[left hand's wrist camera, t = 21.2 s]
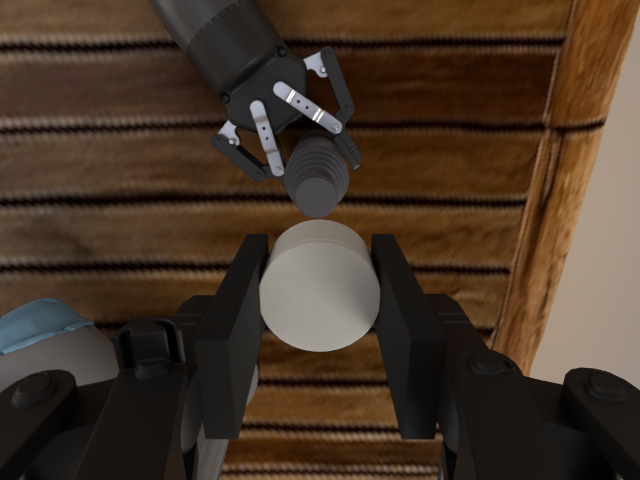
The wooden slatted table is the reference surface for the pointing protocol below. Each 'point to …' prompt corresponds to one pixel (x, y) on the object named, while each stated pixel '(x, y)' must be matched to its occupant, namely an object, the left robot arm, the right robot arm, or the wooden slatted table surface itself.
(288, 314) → the cap
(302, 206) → the bottle
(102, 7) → the wooden slatted table surface
